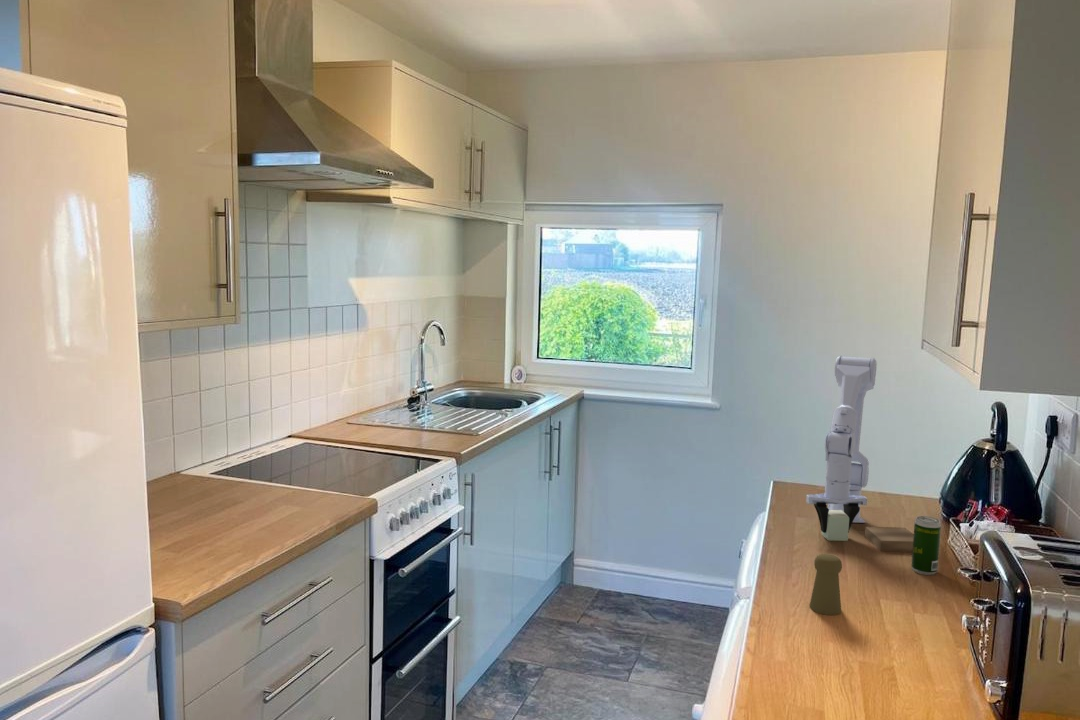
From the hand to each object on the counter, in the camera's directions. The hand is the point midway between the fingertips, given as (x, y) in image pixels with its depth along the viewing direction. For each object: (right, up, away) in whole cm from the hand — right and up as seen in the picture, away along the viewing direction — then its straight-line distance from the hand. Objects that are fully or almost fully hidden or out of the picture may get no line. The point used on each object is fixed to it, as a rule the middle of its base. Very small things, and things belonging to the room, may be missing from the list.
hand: (834, 531), depth 198 cm
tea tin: (0, -1, 0) cm, 1 cm away
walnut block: (+13, -3, -4) cm, 14 cm away
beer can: (+12, -4, -21) cm, 25 cm away
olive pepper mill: (-17, -7, -41) cm, 45 cm away
